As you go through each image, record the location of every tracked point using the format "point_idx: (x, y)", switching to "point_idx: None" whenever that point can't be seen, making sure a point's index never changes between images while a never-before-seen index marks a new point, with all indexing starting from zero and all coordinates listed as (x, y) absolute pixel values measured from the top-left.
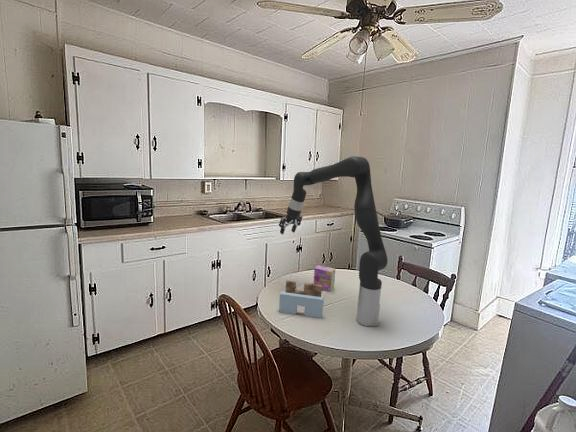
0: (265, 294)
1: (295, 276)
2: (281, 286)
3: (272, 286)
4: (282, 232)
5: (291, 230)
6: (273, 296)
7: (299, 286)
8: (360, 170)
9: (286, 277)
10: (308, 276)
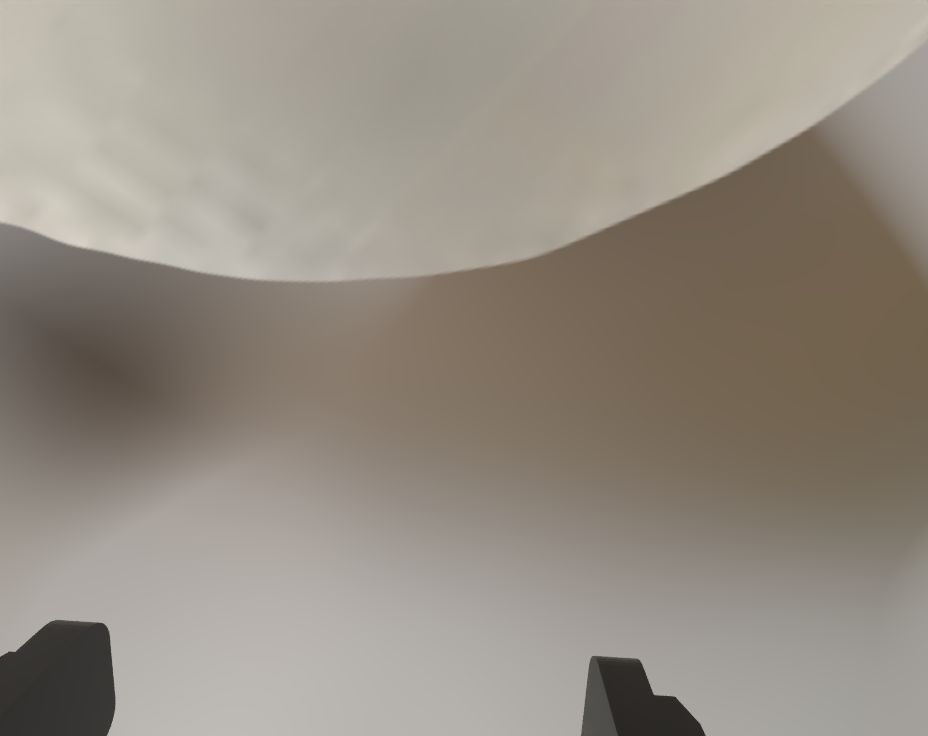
0: (805, 108)
1: (271, 230)
2: (550, 145)
3: (613, 201)
4: (656, 727)
5: (103, 733)
6: (796, 14)
7: (403, 14)
8: None
9: (362, 266)
10: (147, 145)
